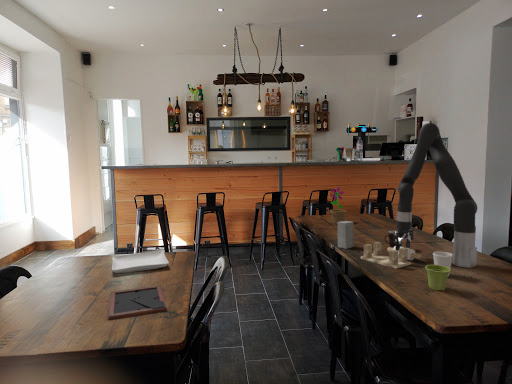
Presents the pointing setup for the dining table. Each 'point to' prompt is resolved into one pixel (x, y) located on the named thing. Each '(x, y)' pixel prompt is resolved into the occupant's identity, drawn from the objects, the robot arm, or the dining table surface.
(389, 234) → the coffee mug
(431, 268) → the plant pot
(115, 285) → the dining table surface
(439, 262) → the dixie cup
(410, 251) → the roll
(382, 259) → the holder
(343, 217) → the flowerpot
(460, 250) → the robot arm
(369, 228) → the dining table surface
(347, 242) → the skincare box
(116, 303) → the picture frame
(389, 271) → the dining table surface
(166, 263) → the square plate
